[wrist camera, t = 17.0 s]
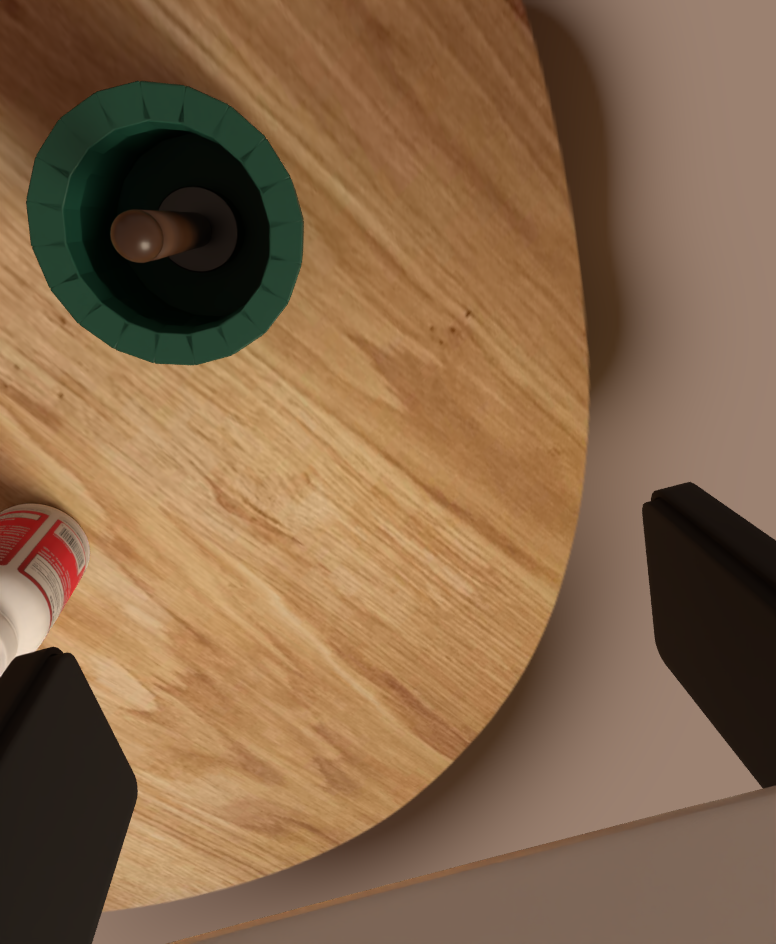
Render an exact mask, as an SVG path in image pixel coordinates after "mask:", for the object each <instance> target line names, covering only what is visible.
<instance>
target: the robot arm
mask: <svg viewBox="0 0 776 944" xmlns="http://www.w3.org/2000/svg"><path fill="white" fill-rule="evenodd" d="M642 514H643V525H644V534H645V545H646V555H647V565H648V575H649V585H650V595H651V605H652V615H653V624H654V635H655V642H656V646H657V649H658V651H659V654H660V656H661V658H662V660H663V661H664V663H665V664H666V666H667V667H668V668H669V669H670V670H671V672H672V673H673V674H674V676H675V677H676V678H677V680H678V681H679V682H680V683H681V685H682V686H683V687H684V688H685V690H686V691H687V692H688V694H689V695H690V696H691V697H692V699H693V700H694V701H695V703H696V704H697V705H698V706H699V707H700V709H701V710H702V711H703V713H704V714H705V715H706V717H707V718H708V719H709V720H710V722H711V723H712V724H713V725H714V727H715V728H716V729H717V731H718V732H719V733H720V734H721V736H722V737H723V738H724V739H725V741H726V742H727V743H728V745H729V746H730V747H731V748H732V750H733V751H734V752H735V753H736V755H737V756H738V757H739V759H740V760H741V761H742V762H743V764H744V765H745V766H746V767H747V769H748V770H749V771H750V773H751V774H752V775H753V776H754V778H755V779H756V780H757V781H758V783H759V784H760V785H761V787H762V788H763V789H760V790H756V791H753V792H748V793H744V794H741V795H737V796H733V797H729V798H725V799H721V800H716V801H712V802H708V803H703V804H699V805H695V806H691V807H687V808H683V809H679V810H675V811H671V812H667V813H663V814H659V815H656V816H652V817H648V818H644V819H640V820H636V821H632V822H628V823H624V824H620V825H616V826H613V827H609V828H605V829H601V830H597V831H593V832H589V833H585V834H582V835H578V836H574V837H570V838H566V839H562V840H558V841H554V842H550V843H546V844H542V845H539V846H535V847H531V848H527V849H523V850H519V851H515V852H511V853H507V854H504V855H500V856H496V857H492V858H488V859H484V860H480V861H477V862H473V863H469V864H465V865H461V866H458V867H454V868H450V869H446V870H442V871H439V872H435V873H431V874H427V875H423V876H419V877H416V878H412V879H408V880H404V881H400V882H396V883H393V884H389V885H385V886H381V887H378V888H374V889H370V890H366V891H362V892H359V893H355V894H351V895H347V896H343V897H339V898H336V899H332V900H328V901H324V902H320V903H317V904H313V905H309V906H305V907H302V908H298V909H294V910H290V911H287V912H283V913H279V914H275V915H271V916H267V917H264V918H260V919H256V920H252V921H249V922H245V923H241V924H237V925H234V926H230V927H226V928H223V929H219V930H216V931H211V932H208V933H204V934H200V935H197V936H193V937H189V938H185V939H182V940H178V941H175V942H171V943H167V944H776V541H775V540H774V539H773V538H771V537H769V536H768V535H767V534H766V533H764V532H763V531H761V530H760V529H758V528H757V527H756V526H754V525H753V524H751V523H750V522H748V521H747V520H746V519H744V518H743V517H741V516H740V515H738V514H737V513H735V512H734V511H733V510H731V509H730V508H728V507H727V506H725V505H724V504H723V503H721V502H720V501H718V500H717V499H715V498H714V497H712V496H711V495H710V494H708V493H707V492H705V491H704V490H703V489H701V488H700V487H698V486H697V485H695V484H694V483H691V482H688V483H683V484H679V485H676V486H672V487H668V488H664V489H660V490H657V491H654V492H653V493H652V497H651V501H650V502H646V503H644V504H643V508H642ZM137 792H138V790H137V782H136V778H135V775H134V773H133V771H132V769H131V767H130V765H129V763H128V761H127V759H126V757H125V755H124V753H123V751H122V749H121V747H120V745H119V743H118V741H117V739H116V737H115V735H114V733H113V731H112V729H111V727H110V725H109V723H108V721H107V719H106V717H105V715H104V713H103V712H102V710H101V708H100V706H99V704H98V702H97V700H96V698H95V696H94V694H93V692H92V690H91V688H90V686H89V684H88V682H87V680H86V678H85V676H84V674H83V672H82V670H81V668H80V666H79V664H78V662H77V660H76V659H75V657H74V656H73V655H72V654H71V653H63V652H62V651H61V650H60V649H59V648H56V647H50V648H46V649H42V650H39V651H35V652H31V653H27V654H23V655H20V656H16V657H15V658H14V659H13V660H12V661H11V662H10V664H9V665H8V667H7V668H6V670H5V671H4V672H3V674H2V675H1V677H0V944H92V941H93V938H94V935H95V932H96V928H97V925H98V922H99V919H100V916H101V913H102V909H103V906H104V903H105V900H106V897H107V893H108V890H109V887H110V884H111V881H112V877H113V874H114V871H115V868H116V865H117V861H118V858H119V855H120V852H121V849H122V845H123V842H124V839H125V836H126V833H127V829H128V826H129V823H130V820H131V817H132V813H133V810H134V807H135V804H136V800H137Z"/></svg>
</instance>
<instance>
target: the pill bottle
mask: <svg viewBox="0 0 776 944" xmlns="http://www.w3.org/2000/svg"><path fill="white" fill-rule="evenodd" d="M89 559H90V547H89V542H88V539H87V536H86V535H85V533H84V531H83V529H82V528H81V527H80V525H79V524H78V523H77V522H76V521H75V520H74V519H73V518H71V517H70V516H69V515H67V514H66V513H64V512H62V511H60V510H58V509H56V508H53V507H50V506H47V505H42V504H20V505H16V506H13V507H10V508H8V509H6V510H4V511H2V512H0V677H1V675H2V674H3V672H4V671H5V670H6V668H7V667H8V665H9V664H10V662H11V661H12V660H13V659H14V658H15V657H16V656H20V655H23V654H27V653H31V652H35V651H36V650H37V649H38V647H39V646H40V645H41V643H42V642H43V641H44V639H45V637H46V636H47V634H48V632H49V631H50V629H51V628H52V626H53V624H54V622H55V621H56V619H57V618H58V617H59V614H60V613H61V611H62V609H63V608H64V606H65V605H66V603H67V601H68V599H69V598H70V596H71V595H72V593H73V591H74V589H75V588H76V586H77V585H78V583H79V581H80V579H81V578H82V576H83V574H84V572H85V570H86V568H87V566H88V563H89Z"/></svg>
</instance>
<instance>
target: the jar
mask: <svg viewBox="0 0 776 944" xmlns="http://www.w3.org/2000/svg"><path fill="white" fill-rule="evenodd" d="M60 119H61V120H60ZM60 119H59V120H58V121H57V123H56V125H55V126H54V128H53V129H52V131H51V132H50V134H49V136H48V137H47V139H46V140H45V142H44V144H43V145H42V147H41V148H40V150H39V152H38V153H37V155H36V156H37V157H36V158H35V161H34V166H33V171H32V175H31V180H30V185H29V189H28V194H27V201H26V204H27V213H28V222H29V231H30V240H31V246H33V247H32V249H33V251H34V253H35V256H36V258H37V260H38V263H39V265H40V267H41V269H42V272H43V274H44V276H45V279H46V281H47V283H48V286H49V287H50V288H51V291H52V292H53V293H54V295H55V296H56V297H57V298H58V300H59V301H60V302H61V303H62V304H63V306H64V307H65V308H66V309H67V311H68V312H69V313H70V314H71V315H72V317H73V318H74V319H75V320H76V322H77V323H80V325H81V326H82V327H84V328H85V329H86V330H88V331H89V332H91V333H92V334H93V335H95V336H96V337H98V338H99V339H101V340H102V341H103V342H105V343H106V344H108V345H109V346H110V347H112V348H114V349H116V350H118V351H120V352H123V353H126V354H129V355H132V356H135V357H138V358H140V359H143V360H146V361H149V362H152V363H154V362H155V363H156V364H175V365H198V364H202V363H206V362H209V361H213V360H217V359H221V358H224V357H228V356H231V355H232V354H235V353H237V352H238V351H240V350H241V349H243V348H244V347H246V346H247V345H249V344H250V343H252V342H253V341H255V340H256V339H258V338H259V337H261V336H262V335H263V334H264V333H266V332H267V330H268V329H269V328H270V326H271V325H272V324H273V323H274V321H275V320H276V319H277V317H278V316H279V315H280V313H281V312H282V311H283V309H284V308H285V307H286V306H287V304H288V302H289V300H290V297H291V294H292V291H293V289H294V286H295V283H296V280H297V277H298V274H299V271H300V268H301V263H302V257H303V234H304V221H303V216H302V212H301V208H300V205H299V201H298V197H297V194H296V190H295V188H294V185H293V182H292V180H291V178H290V175H289V174H288V172H287V171H286V169H285V167H284V166H283V164H282V162H281V161H280V159H279V158H278V156H277V154H276V153H275V151H274V150H273V148H272V146H271V145H270V143H269V142H268V140H267V139H266V138H265V136H264V135H263V134H262V133H261V132H259V131H258V130H257V129H256V128H255V127H254V126H253V125H252V124H250V123H249V122H248V121H247V120H246V119H245V118H244V117H243V116H241V115H240V114H239V113H238V112H237V111H236V110H235V109H234V108H232V107H231V106H229V105H228V104H226V103H224V102H222V101H220V100H217V99H215V98H213V97H211V96H209V95H206V94H204V93H202V92H200V91H198V90H195V89H193V88H191V87H189V86H184V85H178V84H168V83H158V82H148V81H140V82H139V81H135V82H131V83H128V84H124V85H120V86H116V87H112V88H109V89H105V90H101V91H97V92H96V93H93V94H92V95H91V96H89V97H88V98H87V99H85V100H84V101H83V102H81V103H80V104H78V105H77V106H76V107H74V108H73V109H72V110H70V111H69V112H67V113H66V114H65V115H63V116H62V117H61V118H60ZM185 186H200V187H205V188H208V189H211V190H214V191H217V192H219V193H221V194H223V195H224V196H225V197H227V198H228V199H229V200H230V201H231V202H232V203H233V204H234V205H235V207H236V208H237V210H238V212H239V214H240V216H241V219H242V222H243V228H244V236H243V242H242V245H241V248H240V250H239V252H238V253H237V255H236V256H235V257H234V258H233V259H232V260H231V261H230V262H228V263H227V264H225V265H223V266H222V267H220V268H218V269H216V270H213V271H210V272H202V273H199V272H192V271H188V270H185V269H183V268H181V267H179V266H177V265H176V264H174V263H173V262H172V261H171V260H170V259H169V258H168V257H164V258H160V259H156V260H153V261H149V262H145V263H136V262H132V261H129V260H127V259H125V258H124V257H122V256H121V255H120V254H119V253H118V252H117V251H116V249H115V248H114V246H113V244H112V241H111V235H110V231H111V226H112V223H113V221H114V219H115V218H116V217H117V216H118V215H119V214H121V213H122V212H124V211H127V210H132V209H137V210H156V211H157V210H158V207H159V205H160V203H161V202H162V201H163V199H164V198H165V197H166V196H167V195H168V194H169V193H171V192H172V191H174V190H176V189H178V188H181V187H185Z"/></svg>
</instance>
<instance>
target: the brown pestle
mask: <svg viewBox="0 0 776 944" xmlns="http://www.w3.org/2000/svg"><path fill="white" fill-rule="evenodd" d="M110 235H111V241H112V244H113V246H114V248H115V249H116V251H117V252H118V253H119V254H120V255H121V256H122V257H124V258H125V259H127V260H129V261H132V262H136V263H145V262H149V261H153V260H156V259H160V258H164V257H168V258H169V259H170V260H171V261H172V262H173V263H174V264H176V265H177V266H179V267H181V268H183V269H185V270H188V271H192V272H199V273H202V272H210V271H213V270H216V269H218V268H220V267H222V266H223V265H225V264H227V263H228V262H230V261H231V260H232V259H233V258H234V257H235V256H236V255H237V253H238V252H239V250H240V248H241V245H242V242H243V236H244V228H243V222H242V219H241V216H240V214H239V212H238V210H237V208H236V207H235V205H234V204H233V203H232V202H231V201H230V200H229V199H228V198H227V197H225V196H224V195H223V194H221V193H219V192H217V191H214V190H211V189H208V188H205V187H200V186H185V187H181V188H178V189H176V190H174V191H172V192H171V193H169V194H168V195H167V196H166V197H165V198H164V199H163V201H162V202H161V203H160V205H159V207H158V210H157V211H156V210H137V209H132V210H127V211H124V212H122V213H121V214H119V215H118V216H117V217H116V218H115V219H114V221H113V223H112V226H111V231H110Z"/></svg>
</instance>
